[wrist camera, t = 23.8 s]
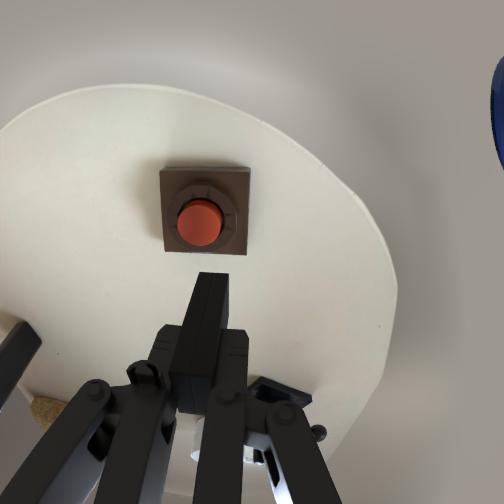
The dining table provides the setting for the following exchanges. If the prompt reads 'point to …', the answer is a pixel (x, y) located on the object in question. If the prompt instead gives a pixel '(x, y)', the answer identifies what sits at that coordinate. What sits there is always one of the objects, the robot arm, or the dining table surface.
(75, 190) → the dining table surface
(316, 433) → the lever handle
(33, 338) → the wine bottle
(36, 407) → the bread
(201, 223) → the button
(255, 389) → the black lever stand
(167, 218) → the button block
